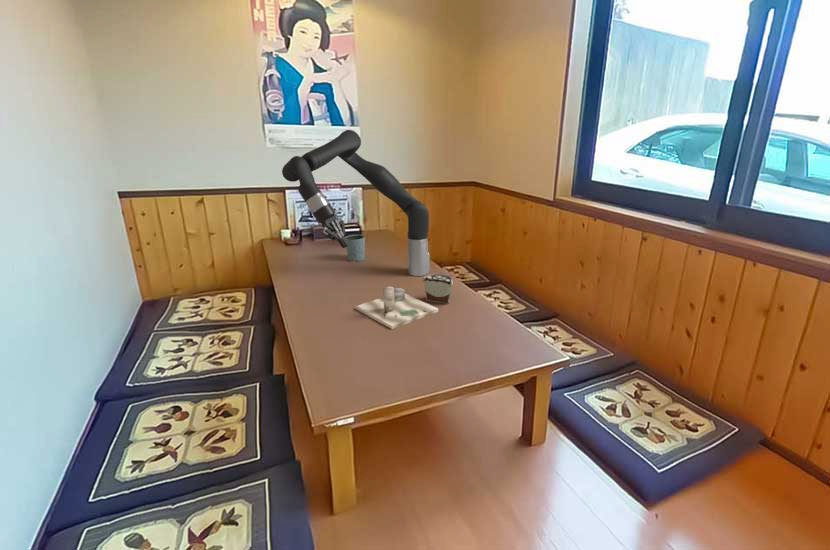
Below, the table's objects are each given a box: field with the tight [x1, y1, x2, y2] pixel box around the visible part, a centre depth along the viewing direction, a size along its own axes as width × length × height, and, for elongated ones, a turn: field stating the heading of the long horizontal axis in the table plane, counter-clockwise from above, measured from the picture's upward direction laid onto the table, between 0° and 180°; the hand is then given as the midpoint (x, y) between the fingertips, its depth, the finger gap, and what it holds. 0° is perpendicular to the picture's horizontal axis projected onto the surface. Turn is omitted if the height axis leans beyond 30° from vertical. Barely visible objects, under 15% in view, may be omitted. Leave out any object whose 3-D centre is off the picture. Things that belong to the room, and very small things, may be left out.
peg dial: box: [382, 286, 406, 313], centre depth 169 cm, size 18×6×8 cm, turn 166°
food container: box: [422, 273, 454, 305], centre depth 176 cm, size 12×6×10 cm, turn 65°
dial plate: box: [355, 293, 439, 330], centre depth 168 cm, size 22×23×1 cm
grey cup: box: [344, 234, 366, 262], centre depth 227 cm, size 10×10×12 cm
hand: (346, 246), depth 167 cm, fingers closed
